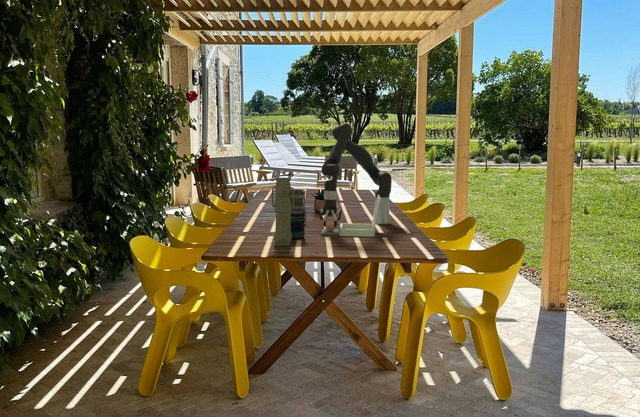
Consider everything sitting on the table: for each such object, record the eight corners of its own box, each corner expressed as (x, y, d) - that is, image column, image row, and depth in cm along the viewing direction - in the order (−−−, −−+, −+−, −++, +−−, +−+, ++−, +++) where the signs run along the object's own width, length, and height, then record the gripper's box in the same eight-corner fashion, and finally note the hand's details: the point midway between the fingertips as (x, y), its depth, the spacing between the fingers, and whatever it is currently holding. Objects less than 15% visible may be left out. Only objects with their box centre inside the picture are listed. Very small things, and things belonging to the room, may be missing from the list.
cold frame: (378, 230, 347) (379, 194, 344) (379, 236, 327) (380, 198, 324) (340, 229, 348) (341, 193, 345) (339, 235, 328) (340, 197, 325)
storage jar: (300, 241, 312) (300, 213, 310) (284, 239, 316) (284, 212, 314) (307, 237, 322) (307, 211, 320) (291, 236, 325) (291, 210, 323)
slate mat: (338, 230, 346) (338, 229, 346) (338, 235, 330) (338, 233, 330) (322, 229, 347) (322, 228, 347) (320, 234, 331) (320, 233, 331)
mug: (304, 212, 416) (305, 191, 414) (286, 212, 417) (286, 191, 414) (306, 208, 436) (306, 188, 433) (288, 208, 436) (288, 188, 434)
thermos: (295, 246, 299) (295, 178, 294) (272, 246, 297) (272, 178, 292) (293, 242, 307) (294, 177, 302) (271, 243, 306) (271, 177, 301)
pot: (335, 229, 341) (335, 217, 340) (334, 230, 335) (334, 218, 334) (325, 228, 341) (325, 217, 340) (324, 230, 336) (324, 218, 335)
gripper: (342, 197, 339) (342, 226, 341) (318, 197, 340) (318, 225, 342) (342, 199, 332) (342, 228, 334) (317, 198, 332) (317, 227, 335)
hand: (330, 226), depth 338 cm, fingers closed on pot, 5 cm apart
